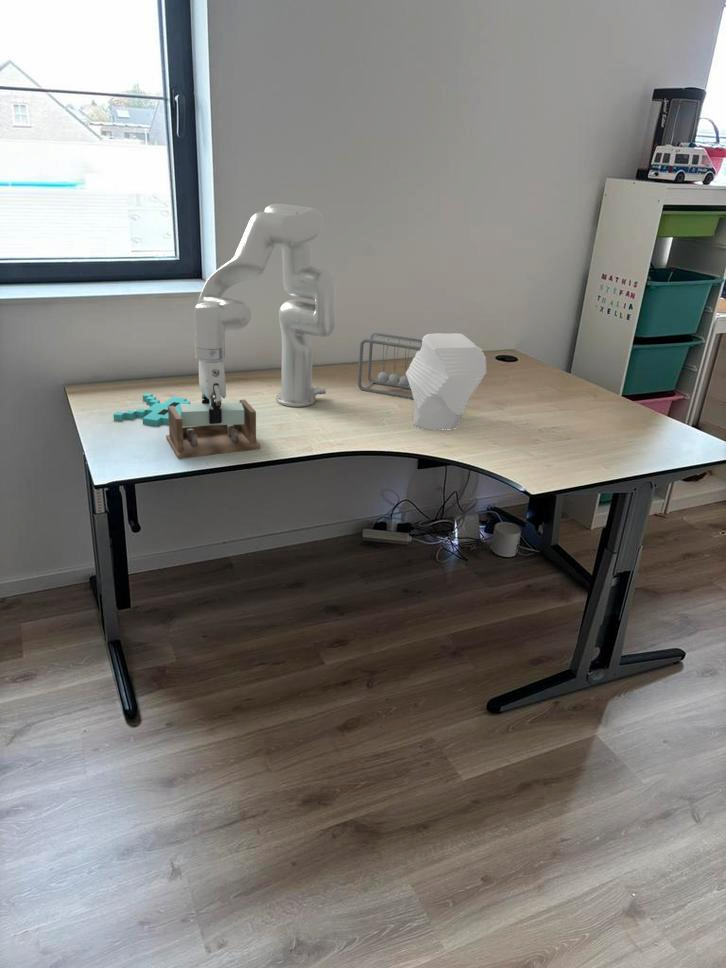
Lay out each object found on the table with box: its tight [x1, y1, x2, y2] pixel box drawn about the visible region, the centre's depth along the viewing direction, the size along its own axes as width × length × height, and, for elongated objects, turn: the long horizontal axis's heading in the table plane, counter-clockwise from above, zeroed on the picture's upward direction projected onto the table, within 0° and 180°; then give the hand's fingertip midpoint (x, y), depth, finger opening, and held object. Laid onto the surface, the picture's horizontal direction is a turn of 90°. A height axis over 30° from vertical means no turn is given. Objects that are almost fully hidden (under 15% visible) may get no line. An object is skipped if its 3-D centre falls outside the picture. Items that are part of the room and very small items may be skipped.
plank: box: [181, 402, 244, 426], centre depth 195 cm, size 16×6×4 cm, turn 105°
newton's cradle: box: [357, 332, 423, 400], centre depth 244 cm, size 30×10×18 cm, turn 69°
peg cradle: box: [165, 399, 261, 460], centre depth 196 cm, size 22×14×10 cm, turn 115°
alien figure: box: [113, 392, 191, 427], centre depth 217 cm, size 20×2×20 cm
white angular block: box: [405, 332, 487, 431], centre depth 221 cm, size 21×27×26 cm
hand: (211, 417), depth 195 cm, fingers closed on plank, 6 cm apart
